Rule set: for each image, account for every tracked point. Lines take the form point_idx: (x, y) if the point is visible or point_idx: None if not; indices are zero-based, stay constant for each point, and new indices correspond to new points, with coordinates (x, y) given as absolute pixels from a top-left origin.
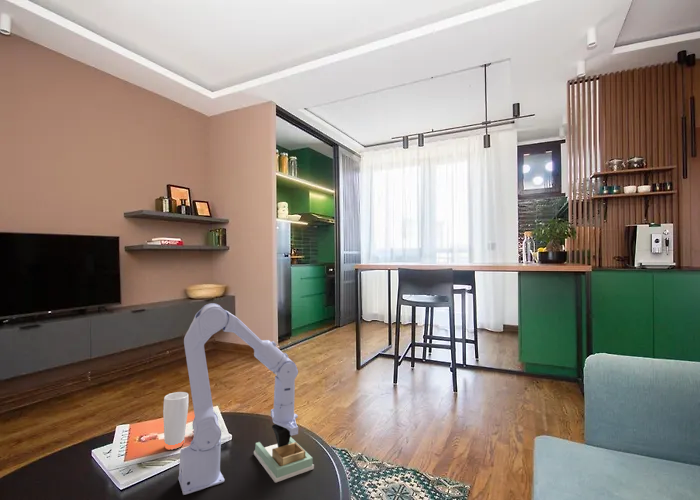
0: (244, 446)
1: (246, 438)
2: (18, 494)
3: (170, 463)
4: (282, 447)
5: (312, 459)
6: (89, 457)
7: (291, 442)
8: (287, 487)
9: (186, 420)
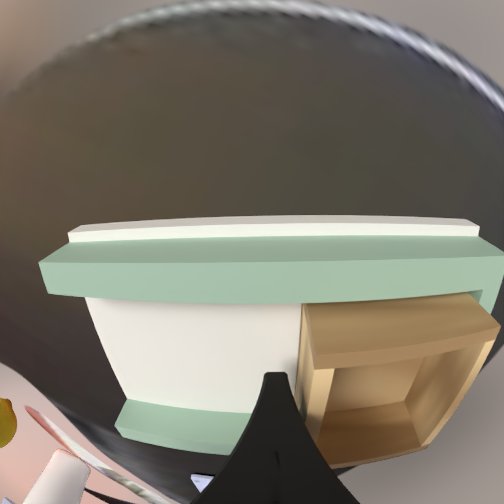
0: (76, 393)
1: (26, 359)
2: None
3: (139, 485)
4: (315, 438)
5: (502, 253)
6: (101, 494)
7: (177, 300)
8: None
9: (48, 492)
